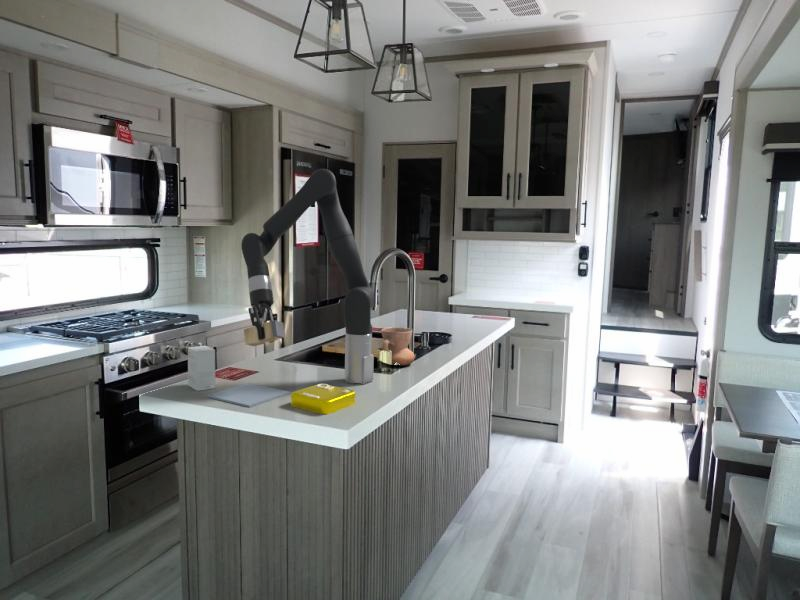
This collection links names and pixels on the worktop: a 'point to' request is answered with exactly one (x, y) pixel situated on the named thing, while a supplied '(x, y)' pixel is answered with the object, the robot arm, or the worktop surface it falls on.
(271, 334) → the wood block
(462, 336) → the worktop surface
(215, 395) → the grey mat
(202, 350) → the small box
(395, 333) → the ceramic jug
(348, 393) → the element tile
